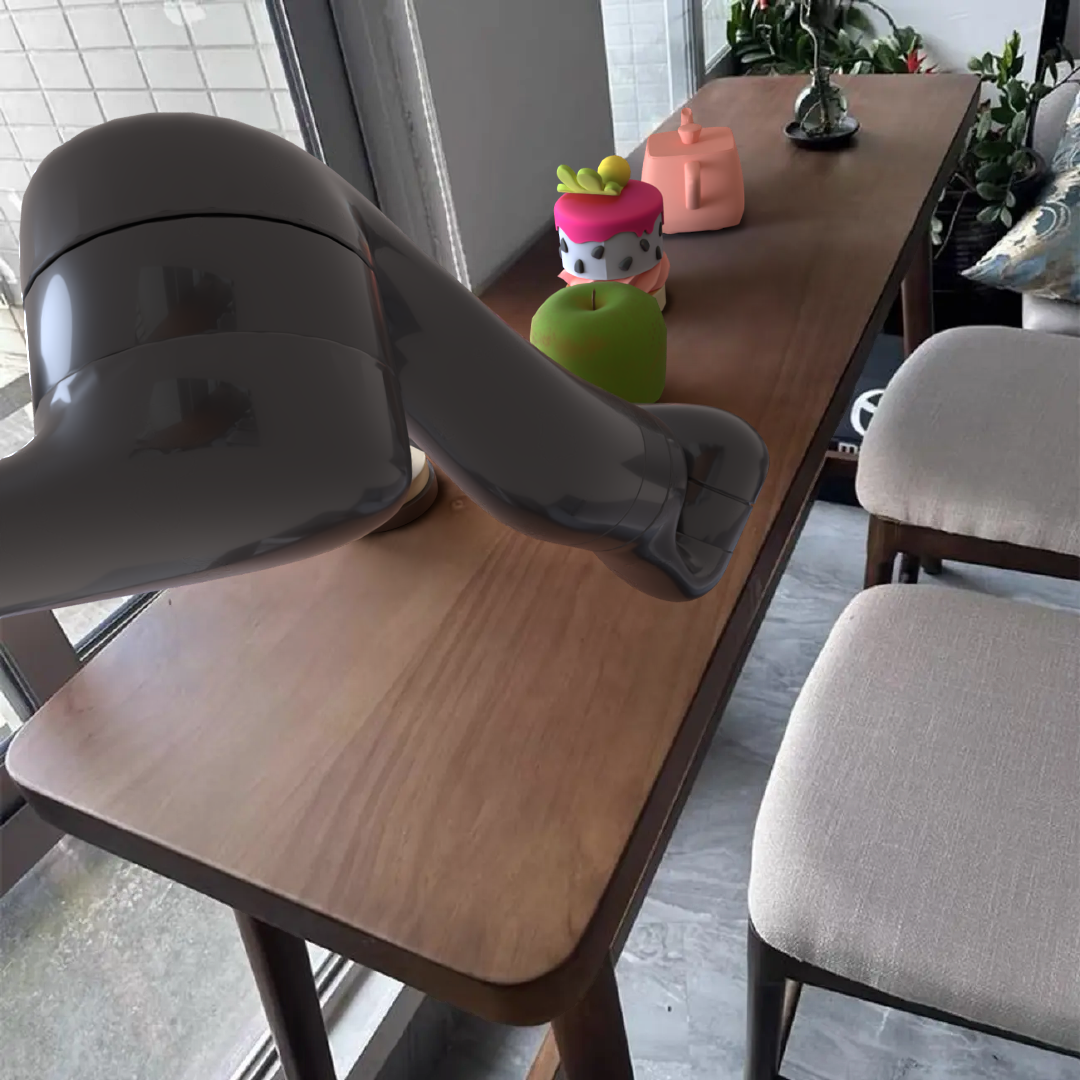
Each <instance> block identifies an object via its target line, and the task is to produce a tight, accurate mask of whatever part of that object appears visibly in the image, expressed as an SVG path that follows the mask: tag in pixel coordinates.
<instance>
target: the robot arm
mask: <svg viewBox="0 0 1080 1080" xmlns="http://www.w3.org/2000/svg"><path fill="white" fill-rule="evenodd" d="M20 208H21V209H20V220H19V221H20V222H19V235H18V257H19V259H18V261H19V262H18V263H19V279H20V280H19V281H20V293H21V300H22V303H21V304H22V309H23V314H24V330H25V340H26V351H27V360H28V361H27V363H28V373H29V384H30V395H31V404H32V405H31V406H32V415H33V421H32V422H33V433H34V435H33V437H32V438H31V439H30V440H29V441H28V442H27V443H26V444H25V445H24V446H22V447H21V448H19V449H18V450H16V451H14V452H13V453H11V454H9V455H7V456H3V457H2V458H0V620H1V619H7V618H13V617H19V616H23V615H29V614H35V613H40V612H46V611H51V610H56V609H57V610H58V609H62V608H68V607H72V606H73V607H74V606H80V605H86V604H90V603H96V602H102V601H107V600H108V601H109V600H113V599H118V598H124V597H130V596H135V595H141V594H146V593H152V592H153V593H154V592H158V591H164V590H168V589H174V588H175V589H176V588H180V587H185V586H191V585H196V584H200V583H201V584H202V583H206V582H211V581H216V580H221V579H225V578H226V579H227V578H232V577H236V576H242V575H245V574H247V575H248V574H251V573H257V572H260V571H265V570H269V569H272V568H273V569H274V568H276V567H277V568H278V567H281V566H286V565H288V564H292V563H297V562H300V561H304V560H307V559H309V558H314V557H316V556H319V555H323V554H325V553H329V552H331V551H334V550H337V549H339V548H342V547H344V546H347V545H349V544H351V543H353V542H355V541H358V540H360V539H362V538H363V537H365V536H367V535H368V534H371V533H370V532H371V531H373V530H375V529H376V528H378V527H380V526H381V525H382V524H384V523H385V522H387V521H388V520H389V519H390V518H392V517H393V516H394V515H395V514H396V513H397V512H398V511H399V510H400V508H401V507H402V506H403V504H404V503H405V501H406V498H407V496H408V494H409V490H410V487H411V483H412V456H411V448H410V446H412V447H414V448H416V449H418V450H420V451H422V452H424V453H425V455H426V457H428V458H429V460H431V461H432V462H433V463H434V464H435V465H436V467H438V468H439V469H440V470H441V471H442V472H443V473H444V474H445V475H446V476H447V478H449V479H450V481H451V482H453V484H454V485H455V486H456V487H457V488H458V489H459V490H460V491H461V492H462V494H464V495H465V496H466V497H467V498H468V499H470V501H472V502H473V503H474V504H475V505H477V506H478V507H479V508H480V509H481V510H483V512H485V513H487V514H488V515H489V516H491V518H493V519H495V520H497V522H499V523H501V524H502V525H504V526H505V527H507V528H510V529H511V530H513V531H515V532H517V533H520V534H521V535H524V536H526V537H529V538H531V539H535V540H536V541H537V540H538V541H542V542H546V543H551V544H555V545H561V546H565V547H570V548H576V549H581V550H584V551H589V552H592V553H593V554H594V555H595V556H596V557H597V558H598V559H599V560H600V562H602V563H603V565H604V566H605V567H607V568H608V570H610V571H611V572H612V573H613V574H614V575H616V576H617V577H619V579H621V580H622V581H624V582H625V583H626V584H627V585H629V586H630V587H631V588H634V589H636V590H637V591H639V592H641V593H643V594H645V595H646V596H648V597H649V596H650V597H651V598H655V599H657V600H661V601H665V602H670V603H687V602H692V601H695V600H697V599H700V598H702V597H703V596H706V595H707V594H708V593H710V592H711V591H712V590H713V589H714V588H715V587H716V586H717V585H718V583H719V582H720V581H721V579H722V578H723V576H724V574H725V573H726V571H727V568H728V566H729V564H730V562H731V559H732V557H733V554H734V551H735V550H736V548H737V545H738V543H739V541H740V538H741V536H742V534H743V532H744V529H745V528H746V525H747V522H748V520H749V518H750V516H751V514H752V512H753V509H754V506H753V505H755V504H756V502H757V500H758V498H759V496H760V494H761V491H762V489H763V487H764V484H765V481H766V479H767V476H768V473H769V469H770V453H769V449H768V446H767V444H766V443H765V441H764V439H763V437H762V436H761V434H760V433H759V432H758V430H757V429H756V428H755V427H754V426H753V425H752V424H751V423H750V422H748V421H747V420H746V419H745V418H743V417H741V416H739V415H737V414H736V413H735V412H734V413H733V412H732V411H729V410H726V409H723V408H720V407H716V406H713V405H712V406H711V405H706V404H697V403H688V402H687V403H684V402H654V403H630V402H628V401H626V400H624V399H622V398H620V397H618V396H616V395H614V394H612V393H610V392H608V391H606V390H604V389H602V388H600V387H598V386H596V385H594V384H592V383H590V382H588V381H586V380H584V379H583V378H581V377H579V376H577V375H575V374H574V373H572V372H571V371H569V370H568V369H566V368H565V367H563V366H562V365H560V364H559V363H557V362H556V361H554V360H553V359H551V358H550V357H549V356H547V355H546V354H545V353H543V352H542V351H540V350H539V349H538V348H537V347H536V346H534V345H533V344H532V343H531V342H530V340H528V339H527V338H526V337H525V336H523V335H522V334H521V333H520V332H519V331H518V330H516V329H515V328H514V327H513V326H511V325H510V324H509V323H508V322H507V321H505V320H504V319H503V317H501V316H500V315H498V314H497V313H496V312H495V311H494V310H493V309H492V308H491V307H489V306H488V305H487V304H486V303H485V302H484V301H483V300H482V299H480V298H479V297H478V296H477V295H476V294H474V293H473V291H471V290H470V289H468V287H466V286H465V285H464V284H463V283H462V282H460V281H459V280H458V279H457V278H456V277H455V276H454V275H453V274H451V272H449V270H447V269H445V267H443V266H442V265H441V264H440V263H438V261H436V259H434V258H433V257H432V256H430V254H428V253H427V252H426V251H425V250H424V249H423V248H422V247H420V246H419V245H418V244H417V243H416V242H415V241H414V240H413V239H412V238H411V237H410V236H409V235H407V234H406V232H404V231H403V230H402V229H401V228H400V227H399V226H398V225H397V224H395V222H393V221H392V220H391V219H390V218H389V217H388V216H387V214H385V213H383V212H382V210H380V209H379V208H378V207H377V206H376V204H374V203H373V202H372V201H370V199H368V198H367V197H366V196H365V195H364V194H363V193H362V192H361V191H359V189H357V188H356V187H355V186H354V185H352V184H351V183H350V182H348V180H347V179H345V178H344V177H343V176H342V175H340V174H339V173H337V171H335V170H334V169H333V168H331V167H330V166H329V165H328V164H326V163H325V162H323V161H322V160H320V159H319V158H317V157H316V156H314V155H313V154H311V153H309V152H308V151H306V150H305V149H303V148H301V147H300V146H299V145H297V144H296V143H293V142H292V141H290V140H288V139H286V138H283V137H282V136H280V135H278V134H275V133H273V132H270V131H268V130H266V129H263V128H260V127H257V126H254V125H252V124H248V123H245V122H242V121H239V120H237V119H233V118H228V117H223V116H216V115H211V114H204V113H199V112H192V111H191V112H190V111H187V112H185V111H182V112H181V111H180V112H179V111H178V112H177V111H171V112H170V111H169V112H168V111H162V112H161V111H160V112H159V111H157V112H146V113H141V114H140V113H139V114H135V115H129V116H123V117H117V118H114V119H110V120H108V121H104V122H103V123H100V124H97V125H93V126H91V127H89V128H86V129H84V130H82V131H80V132H79V133H77V134H76V135H74V136H73V137H71V138H70V139H68V140H66V141H64V142H63V143H61V144H60V145H59V146H57V147H56V148H54V149H53V150H51V152H49V153H48V154H46V156H45V157H44V158H43V159H42V161H41V162H40V163H39V164H38V166H36V168H35V171H33V174H32V176H31V178H30V181H29V182H28V184H27V187H26V189H25V191H24V194H23V196H22V202H21V207H20Z"/></svg>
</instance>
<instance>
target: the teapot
mask: <svg viewBox="0 0 1080 1080" xmlns="http://www.w3.org/2000/svg"><path fill="white" fill-rule="evenodd" d="M743 175H744V173H743V168H742V163H741V159H740V155H739V151H738V147H737V144H736V140H735V136H734V133H733V130H732V129H731V128H730V127H729V126H708V127H703V126H702V124H699V123H695V121H694V114H693V111H692V109H691V108H690V107H683V108H682V109H681V111H680V126H679V127H677V129H676V130H670V131H663V132H657V133H652V134H650V135H649V136H648V137H647V140H646V146H645V152H644V157H643V163H642V169H641V179H640V181H643V182H646V183H649V184H651V185H653V186H655V187H656V188H657V189H658V190H659V191H660V192H661V194H662V197H663V206H664V225H662V234H666V235H674V234H675V235H676V234H678V233H691V232H702V231H718V230H722V229H723V228H731V227H735V226H738V225H739V224H740V222H741V219H742V218H743V214H744V212H745V185H744V183H745V182H744V176H743Z"/></svg>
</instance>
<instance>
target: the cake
mask: <svg viewBox="0 0 1080 1080" xmlns="http://www.w3.org/2000/svg"><path fill="white" fill-rule="evenodd" d="M631 174H632V170H631V166H630V164H629V162H628V160H627V159H626V158H624V157H623V156H621V155H617V154H614V155H609V156H606V157H605V158H604V159H602V160H601V161H600V164H599V166H598V168H597V171H596V170H595V169H593V168H590V167H582V168H580V169H579V170H578V172H577V173H576V172H575V171H574V169H572V168H571V166H569V165H567V164H560V165H559V166H558V167H557V170H556V177H557V178H558V179H559V180H560V182H562V183H558V184H557V187H556V190H557V192H558V193H563V194H562V195H561V196H560V197H559V198H558V199H557V201H556V202H555V204H554V208H553V213H554V225H555V231H558V234H559V243H560V246H559V247H558V252H559V257H560V258H561V259H562V260H561V261H562V268H564V269H563V270H562V271H561V272H560V273H559V274H558V275H557V277H558V278H560V279H562V280H564V282H565V283H567V284H566V286H565V288H566V287H569V286H573V285H576V284H581V283H590V282H604V281H616V282H621V283H625V284H630V285H632V286H634V287H636V288H639V289H641V290H642V291H644V292H646V293H648V294H650V295H651V296H653V297H655V298H656V300H657V302H658V305H659V307H660V310H661V312H662V311H663V310H664V308H665V307H666V304H667V299H666V298H667V297H666V281H667V279H668V277H669V273H670V269H671V263H670V260H669V258H668V255H667V253H666V251H665V250H664V239H663V233H662V225H664V206H663V197H662V194H661V192H660V191H659V190H658V189H657V188H656V187H655V186H653V185H651V184H649V183H646V182H643V181H641V180H639V179H633V178H632V179H631Z"/></svg>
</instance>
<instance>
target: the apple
mask: <svg viewBox="0 0 1080 1080" xmlns="http://www.w3.org/2000/svg"><path fill="white" fill-rule="evenodd" d="M530 325H531V326H530V331H529V332H530V333H529V342H531V343H532V344H533V345H534V346H536V347H537V348H538V349H539V350H540V351H542V352H543V353H545V354H546V355H547V356H549V357H550V358H551V359H553V360H554V361H556V362H557V363H559V364H560V365H562V366H563V367H565V368H566V369H568V370H569V371H571V372H572V373H574V374H575V375H577V376H579V377H581V378H583V379H584V380H586V381H588V382H590V383H592V384H594V385H596V386H598V387H600V388H602V389H604V390H606V391H608V392H610V393H612V394H614V395H616V396H618V397H620V398H622V399H624V400H626V401H628V402H630V403H657V401H658V400H660V399H661V397H662V394H663V391H664V389H665V387H666V378H667V377H666V375H667V357H668V355H667V353H668V352H667V351H668V349H667V348H668V347H667V346H668V328H667V325H666V321H665V319H664V316H663V313H662V311H661V310H660V307H659V305H658V302H657V300H656V298H655V297H653V296H651V295H650V294H648V293H646V292H644V291H642V290H641V289H639V288H636V287H634V286H632V285H630V284H625V283H621V282H616V281H604V282H590V283H581V284H576V285H573V286H569V287H566V286H565V287H563V288H560V289H559V290H557V291H556V292H554V293H553V294H551V295H550V296H548V298H546V300H545V301H544V302H543V303H542V304H541V305H540V307H539V308H538V309H537V311H536V312H535V314H534V315H533V317H532V318H531V324H530Z"/></svg>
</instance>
